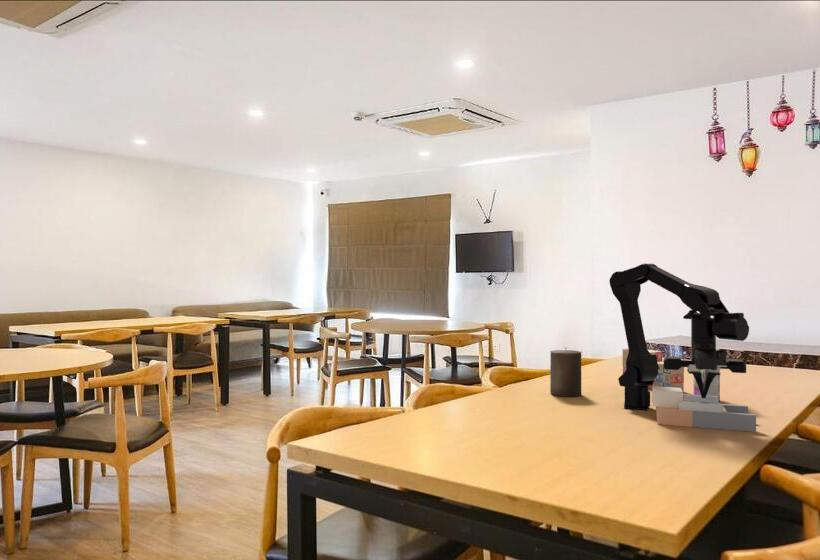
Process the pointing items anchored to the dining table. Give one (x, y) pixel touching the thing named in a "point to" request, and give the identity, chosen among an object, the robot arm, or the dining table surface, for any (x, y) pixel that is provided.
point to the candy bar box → (714, 387)
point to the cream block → (666, 396)
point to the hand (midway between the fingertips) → (703, 398)
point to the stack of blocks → (662, 372)
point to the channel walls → (701, 403)
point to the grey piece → (709, 418)
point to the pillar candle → (565, 373)
